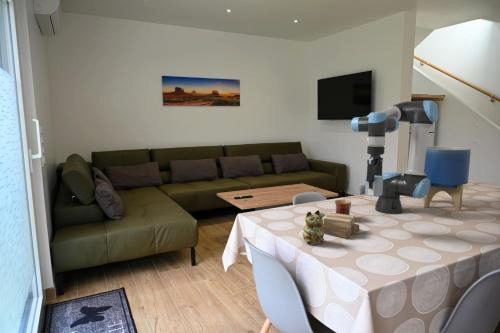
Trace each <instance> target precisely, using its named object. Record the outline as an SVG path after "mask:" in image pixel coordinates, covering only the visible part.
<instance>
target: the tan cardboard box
mask: <svg viewBox="0 0 500 333" xmlns="http://www.w3.org/2000/svg"><path fill="white" fill-rule="evenodd" d="M320 230H322V231H323V232H324V235H328V236H329V237H330V236H332V237H335V238H338V239H343V240H348V239H349V238H351V237H353V236H355V235H357V234H358V233H360V224H357V223H355V224H354V225H353V226H352V227H351V229H350V230H349V231H348V230H341V229H335V228H328V227H324V223H323V226H322V227H321V228H320Z"/></svg>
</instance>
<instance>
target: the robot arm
mask: <svg viewBox="0 0 500 333" xmlns="http://www.w3.org/2000/svg"><path fill="white" fill-rule="evenodd" d="M437 105H438V104H436V102H435V101H433V100H414V101H409V100H408V101H402V102H400V103H395V104H394V105H389V106H388V107H386V108H385V109H383V110H381V111H377V112H375V111H374V112H373V111H372V112H370V113H369V114H368V115H365V116H362V117H361V116H358V117H356V116H355V117H353V118H352V120H351V122H350V128H351V130H352V131H353V132H355V133H356V132H357V133H367V139H366V140H367V149H366V150H367V154H368V155H370V157H369V159H367V162H366V163H367V168H366V176H367V178H366V177H365V182H366V181H368V195H371V196H370V197H374V188H375V182H374V178H375V175H376V176H383V192H382V195H381V196H379V197H377V201H376V203H375V206H374V211H377V212H379V213H384V214H392V215H393V214H394V215H395V214H402V212H403V205H402V202H401V196H402V197H407V198H408V197H409V198H414V199H423V198H424V197H425V196H426V195H427V193H428V191H429V188H430V180H429V179H428V178H427V174H426V173H425V172H424V169H425V160H426V151H427V147H428V142H429V132H430V128H432V127H433V125H434V123H435V122H437V121H438V118H439V109H438V106H437ZM400 122H402V123H408V124H409V126H410V128H411V134H410V140H409V142H410V144H409V152H408V161H407V169H406V170H405V171H404V172H403V175H402V172H400V171H390V172H383V163H384V158H383V157H382V155H384V154H385V151H386V150H385V145H386V133H387V134H388V133H389V134H390V133H394V132H396V131H397V130H398V129H399V126H400ZM368 195H367V196H368Z"/></svg>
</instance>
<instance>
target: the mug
mask: <svg viewBox="0 0 500 333" xmlns="http://www.w3.org/2000/svg"><path fill="white" fill-rule="evenodd" d="M334 204H335V213H338V214H345V215H351V214H350V213H351V206H352V201H351V200H347V199H336V200H335V201H334Z"/></svg>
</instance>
